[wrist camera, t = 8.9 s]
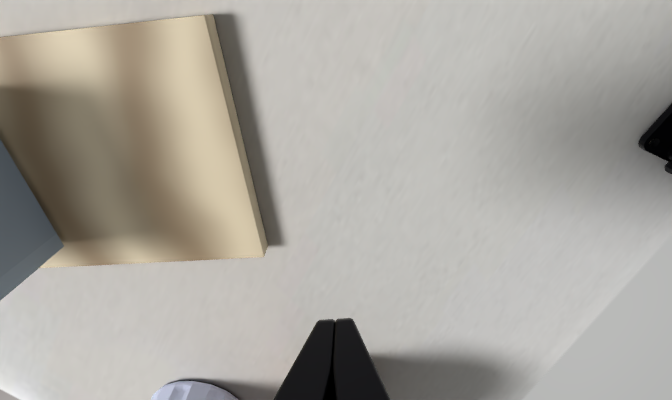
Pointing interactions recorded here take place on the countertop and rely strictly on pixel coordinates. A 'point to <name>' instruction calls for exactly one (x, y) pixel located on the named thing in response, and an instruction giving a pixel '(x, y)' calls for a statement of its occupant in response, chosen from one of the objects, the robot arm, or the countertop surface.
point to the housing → (21, 228)
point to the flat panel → (131, 142)
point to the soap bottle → (191, 392)
